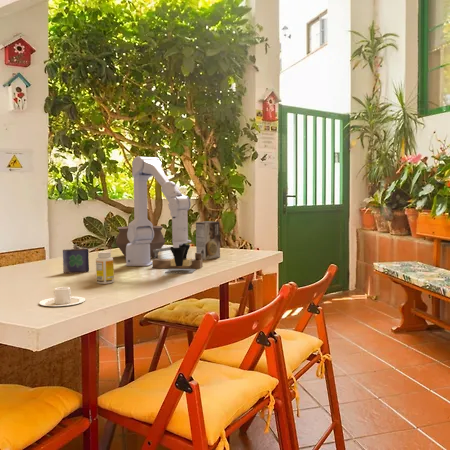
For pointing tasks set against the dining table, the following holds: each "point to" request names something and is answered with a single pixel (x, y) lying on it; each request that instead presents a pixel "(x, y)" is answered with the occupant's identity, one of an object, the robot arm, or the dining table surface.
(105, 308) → the dining table surface
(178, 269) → the mat
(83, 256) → the flask
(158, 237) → the brown round pot
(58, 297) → the candle holder
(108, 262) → the supplement bottle
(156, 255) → the lever
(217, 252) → the coffee box
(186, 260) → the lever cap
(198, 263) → the body
